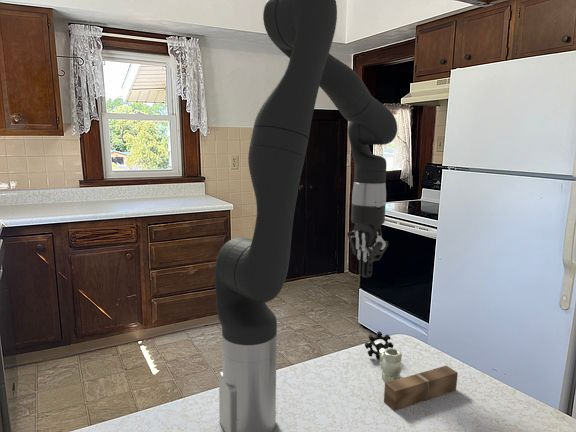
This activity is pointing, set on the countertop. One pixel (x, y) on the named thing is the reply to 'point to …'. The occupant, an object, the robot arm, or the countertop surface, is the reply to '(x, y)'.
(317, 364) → the countertop surface
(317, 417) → the countertop surface
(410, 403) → the bar
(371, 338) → the valve
